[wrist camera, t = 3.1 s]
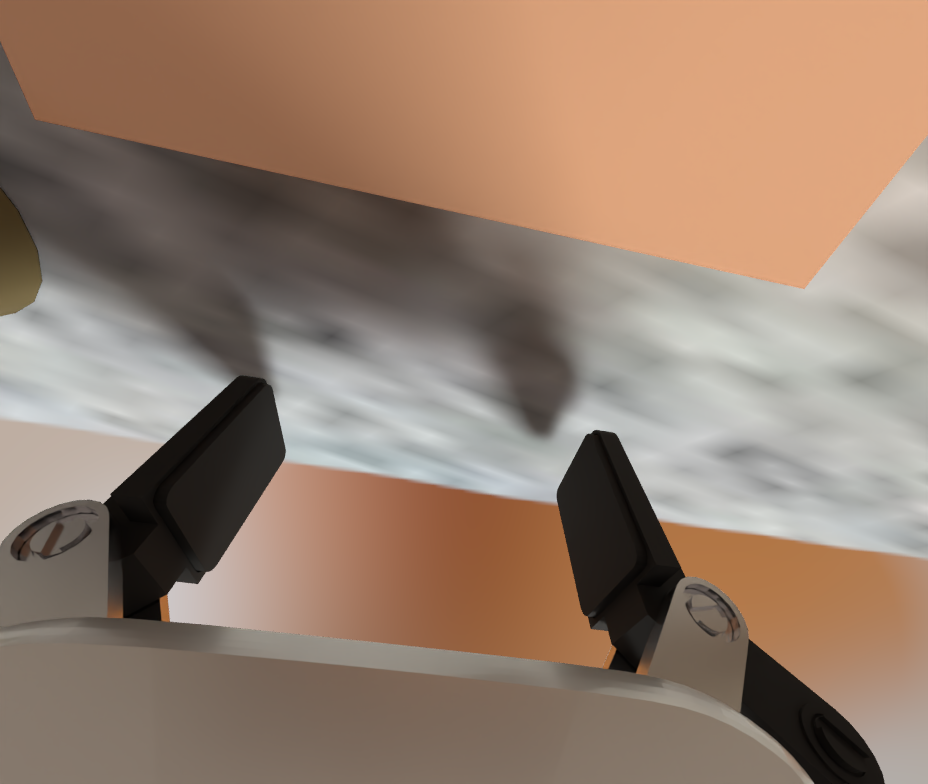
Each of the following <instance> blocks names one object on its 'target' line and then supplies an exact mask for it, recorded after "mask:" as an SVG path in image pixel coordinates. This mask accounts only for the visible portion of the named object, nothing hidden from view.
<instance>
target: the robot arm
mask: <svg viewBox="0 0 928 784" xmlns="http://www.w3.org/2000/svg"><path fill="white" fill-rule="evenodd" d="M285 453H286V449H285V444H284V440H283V435H282V431H281V426H280V421H279V417H278V412H277V408H276V403H275V398H274V394H273V389H272V387H271V385H268V384H267V383H266V381H265V380H264V379H262V378H256V377H250V376H243V375H242V376H239V377H237V378H236V379H235V380H234V381H233V382H231V383H230V384H229V385H228V386H227V387H226V388H225V389H224V390H223V391H222V392H221V393H220V394H218V395H217V396H216V397H215V398H214V399H213V400H212V401H211V402H210V403H209V404H208V405H207V406H205V407H204V408H203V409H202V410H201V411H200V412H199V413H198V414H197V415H196V416H195V417H194V418H192V419H191V420H190V421H189V422H188V423H187V424H186V425H185V426H184V427H183V428H182V429H180V430H179V431H178V432H177V433H176V434H175V435H174V436H173V437H172V438H171V439H170V440H169V441H167V442H166V443H165V444H164V445H163V446H162V447H161V448H160V449H159V450H158V451H157V452H156V453H155V454H153V455H152V456H151V457H150V458H149V459H148V460H147V461H146V462H145V463H144V464H143V465H141V466H140V467H139V468H138V469H137V470H136V471H135V472H134V473H133V474H132V475H131V476H130V477H128V478H127V479H126V480H125V481H124V482H123V483H122V484H121V485H120V486H119V487H118V488H117V489H115V490H114V491H113V492H112V493H111V497H110V498H109V499H108V500H107V501H106V502H105V503H104V504H102V503H101V502H97V501H93V500H77V501H72V502H67V503H63V504H59V505H57V506H54V507H51V508H49V509H46V510H44V511H42V512H40V513H38V514H37V515H34V516H33V517H31V518H29V519H27V520H26V521H24V522H23V523H22V524H20V525H19V526H18V527H16V528H15V529H14V530H13V531H12V532H11V533H10V534H9V535H8V536H7V537H6V538H5V539H4V540H3V541H2V543H1V545H0V784H885V783H884V778H883V774H882V771H881V770H880V767H879V765H878V763H877V761H876V758H875V756H874V755H873V753H872V752H871V750H870V749H869V747H868V746H867V744H866V743H865V741H864V739H863V738H862V737H861V736H860V735H859V733H858V732H857V731H856V730H855V729H854V727H853V726H852V725H851V724H850V723H849V722H848V721H847V720H846V719H845V718H844V717H843V716H841V714H839V713H838V712H837V711H836V710H835V709H834V708H833V707H831V706H830V705H829V704H828V703H827V702H825V701H824V700H823V699H822V698H820V697H819V696H818V695H817V694H816V693H814V692H813V691H812V690H811V689H809V688H808V687H807V686H806V685H805V684H803V683H802V682H801V681H800V680H798V679H797V678H796V677H795V676H794V675H792V674H791V673H790V672H789V671H787V670H786V669H785V668H784V667H782V666H781V665H780V664H779V663H777V662H776V661H775V660H774V659H773V658H772V657H770V656H769V655H768V654H767V653H765V652H764V651H763V650H762V649H760V648H759V647H758V646H757V645H756V644H754V643H753V642H752V641H751V640H750V639H749V636H748V628H747V626H746V623H745V620H744V618H743V616H742V614H741V613H740V611H739V610H738V608H737V607H736V605H735V604H734V603H733V602H732V601H731V600H730V598H729V597H728V596H727V595H726V594H725V593H723V592H722V591H721V590H720V589H718V588H717V587H716V586H714V585H713V584H711V583H709V582H708V581H706V580H703V579H700V578H697V577H685V575H684V573H683V571H682V569H681V566H680V564H679V563H678V561H677V558H676V556H675V554H674V552H673V550H672V548H671V546H670V544H669V542H668V540H667V537H666V535H665V534H664V531H663V529H662V527H661V525H660V523H659V521H658V519H657V517H656V515H655V513H654V511H653V509H652V506H651V504H650V502H649V500H648V498H647V496H646V494H645V492H644V490H643V488H642V486H641V484H640V482H639V480H638V478H637V475H636V473H635V471H634V469H633V467H632V465H631V463H630V461H629V459H628V457H627V455H626V453H625V451H624V449H623V447H622V445H621V442H620V440H619V438H618V436H617V435H616V434H615V433H613V432H606V431H600V430H594V431H593V432H592V433H591V434H587V435H586V436H585V438H584V440H583V442H582V444H581V446H580V447H579V449H578V451H577V453H576V455H575V457H574V459H573V461H572V463H571V465H570V467H569V468H568V470H567V472H566V474H565V476H564V478H563V480H562V482H561V484H560V486H559V488H558V490H557V502H558V507H559V511H560V516H561V520H562V524H563V529H564V534H565V538H566V543H567V547H568V552H569V556H570V561H571V565H572V570H573V574H574V579H575V583H576V588H577V592H578V597H579V601H580V606H581V610H582V612H583V614H584V615H585V616H588V618H589V623H590V627H591V629H596V630H604V631H609V636H610V639H611V643H612V646H611V649H610V651H609V653H608V655H607V658H606V660H605V662H604V665H603V667H602V668H596V667H588V666H580V665H573V664H565V663H557V662H548V661H539V660H531V659H522V658H513V657H503V656H495V655H486V654H477V653H468V652H459V651H450V650H440V649H432V648H422V647H413V646H404V645H394V644H385V643H376V642H366V641H356V640H348V639H338V638H329V637H319V636H310V635H300V634H290V633H280V632H270V631H261V630H251V629H241V628H230V627H221V626H212V625H201V624H189V623H177V622H170V617H169V606H168V596H167V594H168V592H169V591H170V589H171V588H172V587H173V585H174V584H175V582H176V581H177V582H185V583H195V584H198V583H199V582H200V580H201V578H202V577H203V575H204V574H205V572H209V571H211V570H212V569H214V568H215V566H216V565H217V564H218V562H219V561H220V559H221V557H222V556H223V554H224V553H225V551H226V550H227V548H228V547H229V545H230V543H231V542H232V540H233V539H234V537H235V536H236V534H237V532H238V531H239V529H240V528H241V526H242V525H243V523H244V522H245V520H246V518H247V517H248V515H249V514H250V512H251V511H252V509H253V508H254V506H255V504H256V503H257V501H258V500H259V498H260V497H261V495H262V493H263V492H264V490H265V489H266V487H267V486H268V484H269V482H270V481H271V479H272V478H273V476H274V475H275V473H276V471H277V470H278V468H279V467H280V465H281V464H282V462H283V460H284V458H285Z"/></svg>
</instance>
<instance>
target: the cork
mask: <svg viewBox="0 0 928 784" xmlns="http://www.w3.org/2000/svg"><path fill="white" fill-rule="evenodd" d="M41 282H42V276H41V270H40V264H39V258H38V251H37V249H36V247H35V245H34V243H33V241H32V239H31V236H30V234H29V232H28V230H27V228H26V226H25V224H24V222H23V220H22V218H21V216H20V214H19V212H18V211H17V209H16V208H15V207H14V205H13V204H12V203H11V201H10V200H9V199H8V197H7V196H6V195H5V194H4V192H3V191H2V190H1V188H0V316H3V315H8V314H13V313H16V312H18V311H19V310H21V309H23V308H24V307H26V306H28V305H29V304H31V303H33V302H34V301H35V298H36V296H37V293H38V290H39V288H40V285H41Z"/></svg>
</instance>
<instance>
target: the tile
mask: <svg viewBox="0 0 928 784" xmlns="http://www.w3.org/2000/svg"><path fill="white" fill-rule="evenodd" d="M0 42H1V44H2V46H3V49H4V51H5V53H6V55H7V58H8V60H9V62H10V64H11V67H12V69H13V71H14V74H15V76H16V78H17V80H18V83H19V85H20V87H21V89H22V92H23V94H24V96H25V98H26V101H27V103H28V105H29V107H30V110H31V112H32V114H33V116H34V119H35V120H39V121H43V122H48V123H52V124H57V125H61V126H66V127H71V128H75V129H80V130H84V131H89V132H93V133H98V134H102V135H107V136H111V137H116V138H121V139H125V140H130V141H134V142H139V143H143V144H148V145H152V146H157V147H161V148H166V149H171V150H175V151H180V152H184V153H189V154H193V155H198V156H202V157H207V158H211V159H216V160H221V161H225V162H230V163H234V164H239V165H243V166H248V167H252V168H257V169H261V170H266V171H271V172H275V173H280V174H284V175H289V176H293V177H298V178H302V179H307V180H311V181H316V182H321V183H325V184H330V185H334V186H339V187H343V188H348V189H352V190H357V191H361V192H366V193H371V194H375V195H380V196H384V197H389V198H393V199H398V200H402V201H407V202H411V203H416V204H421V205H425V206H430V207H434V208H439V209H443V210H448V211H452V212H457V213H461V214H466V215H471V216H475V217H480V218H484V219H489V220H493V221H498V222H502V223H507V224H511V225H516V226H521V227H525V228H530V229H534V230H539V231H543V232H548V233H552V234H557V235H561V236H566V237H571V238H575V239H580V240H584V241H589V242H593V243H598V244H602V245H607V246H611V247H616V248H621V249H625V250H630V251H634V252H639V253H643V254H648V255H652V256H657V257H661V258H666V259H671V260H675V261H680V262H684V263H689V264H693V265H698V266H702V267H707V268H711V269H716V270H721V271H725V272H730V273H734V274H739V275H743V276H748V277H752V278H757V279H761V280H766V281H771V282H775V283H780V284H784V285H789V286H793V287H798V288H802V289H804V288H805V287H806V286H807V285H808V283H809V282H810V281H811V280H812V278H813V277H814V276H815V275H816V273H817V272H818V271H819V270H820V268H821V267H822V266H823V265H824V263H825V262H826V261H827V260H828V258H829V257H830V256H831V255H832V253H833V252H834V251H835V250H836V248H837V247H838V246H839V245H840V243H841V242H842V241H843V240H844V238H845V237H846V236H847V235H848V234H849V232H850V231H851V230H852V229H853V227H854V226H855V225H856V224H857V222H858V221H859V220H860V219H861V217H862V216H863V215H864V214H865V212H866V211H867V210H868V209H869V207H870V206H871V205H872V204H873V202H874V201H875V200H876V199H877V197H878V196H879V195H880V194H881V192H882V191H883V190H884V189H885V187H886V186H887V185H888V184H889V182H890V181H891V180H892V179H893V177H894V176H895V175H896V174H897V172H898V171H899V170H900V169H901V167H902V166H903V165H904V164H905V162H906V161H907V160H908V159H909V157H910V156H911V155H912V154H913V152H914V151H915V150H916V149H917V147H918V146H919V145H920V144H921V142H922V141H923V140H924V139H925V137H926V136H927V135H928V0H0Z"/></svg>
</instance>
